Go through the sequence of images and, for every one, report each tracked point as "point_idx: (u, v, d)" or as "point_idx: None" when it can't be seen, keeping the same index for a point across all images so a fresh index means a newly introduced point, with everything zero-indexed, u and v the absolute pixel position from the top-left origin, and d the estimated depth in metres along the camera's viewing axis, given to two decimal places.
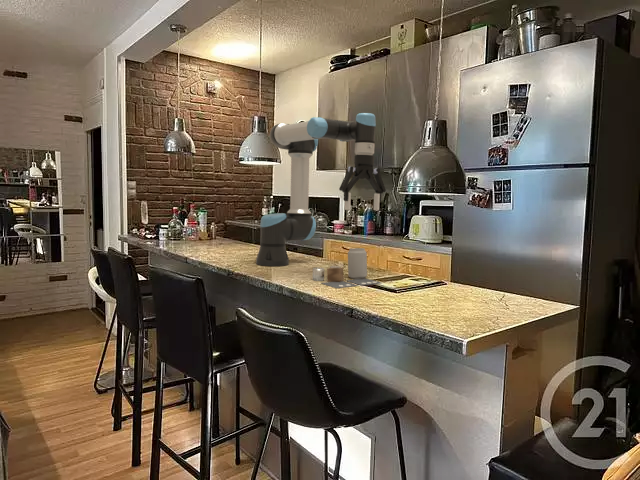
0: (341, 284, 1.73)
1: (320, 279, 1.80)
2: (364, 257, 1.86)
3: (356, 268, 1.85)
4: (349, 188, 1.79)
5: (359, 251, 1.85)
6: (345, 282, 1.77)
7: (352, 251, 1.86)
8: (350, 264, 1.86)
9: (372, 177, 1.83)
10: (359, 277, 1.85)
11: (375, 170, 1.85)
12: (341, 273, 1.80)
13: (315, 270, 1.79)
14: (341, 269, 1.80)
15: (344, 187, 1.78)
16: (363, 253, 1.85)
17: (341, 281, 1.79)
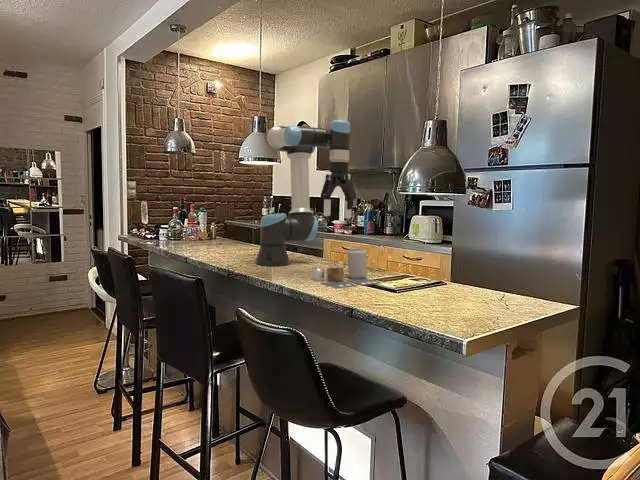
0: (341, 284, 1.73)
1: (320, 279, 1.80)
2: (364, 257, 1.86)
3: (356, 268, 1.85)
4: (324, 195, 1.88)
5: (359, 251, 1.85)
6: (345, 282, 1.77)
7: (352, 251, 1.86)
8: (350, 264, 1.86)
9: (339, 184, 1.79)
10: (359, 277, 1.85)
11: None
12: (341, 273, 1.80)
13: (315, 270, 1.79)
14: (341, 269, 1.80)
15: (321, 194, 1.90)
16: (363, 253, 1.85)
17: (341, 281, 1.79)
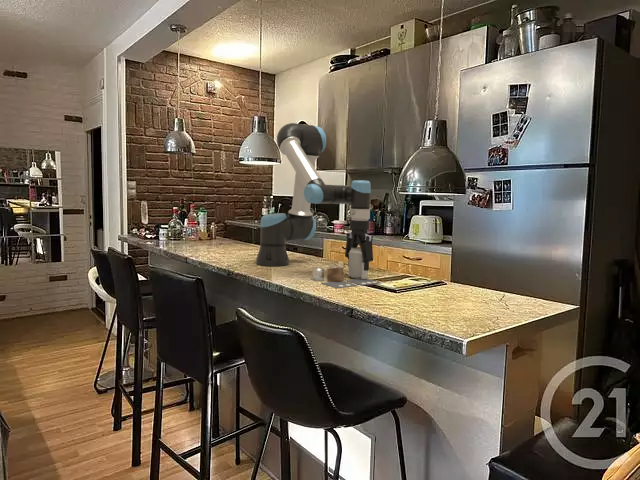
0: (341, 284, 1.73)
1: (320, 279, 1.80)
2: None
3: (357, 268, 1.85)
4: None
5: None
6: (345, 282, 1.77)
7: (354, 251, 1.85)
8: (351, 264, 1.86)
9: (359, 243, 1.84)
10: (360, 277, 1.85)
11: None
12: (341, 273, 1.80)
13: (315, 270, 1.79)
14: (341, 269, 1.80)
15: (345, 254, 1.93)
16: None
17: (341, 281, 1.79)
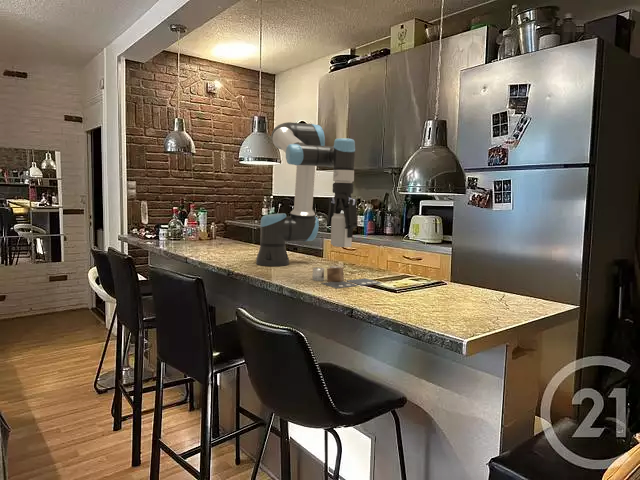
0: (341, 284, 1.73)
1: (320, 279, 1.80)
2: None
3: (340, 235, 1.68)
4: None
5: None
6: (345, 282, 1.77)
7: (336, 216, 1.69)
8: (333, 230, 1.70)
9: (342, 207, 1.68)
10: (343, 245, 1.69)
11: (350, 200, 1.66)
12: (341, 273, 1.80)
13: (315, 270, 1.79)
14: (341, 269, 1.80)
15: (328, 221, 1.76)
16: None
17: (341, 281, 1.79)
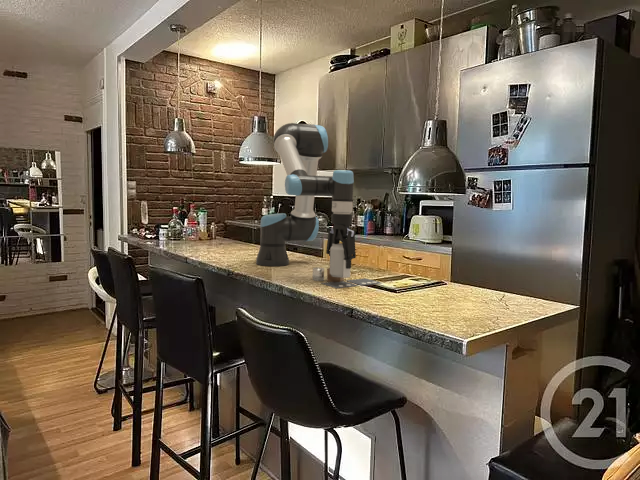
0: (341, 284, 1.73)
1: (320, 279, 1.80)
2: None
3: (339, 266, 1.69)
4: None
5: (342, 247, 1.69)
6: (345, 282, 1.77)
7: (335, 247, 1.70)
8: (332, 261, 1.71)
9: (341, 238, 1.69)
10: (341, 275, 1.70)
11: None
12: None
13: (315, 270, 1.79)
14: None
15: (327, 250, 1.77)
16: None
17: (341, 281, 1.79)
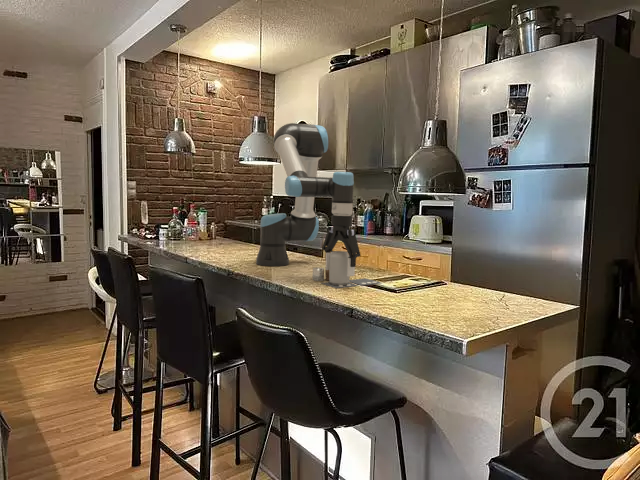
0: None
1: (320, 279, 1.80)
2: (347, 262, 1.71)
3: (338, 274, 1.70)
4: (326, 248, 1.78)
5: (341, 255, 1.70)
6: None
7: (334, 255, 1.71)
8: (331, 269, 1.71)
9: (342, 239, 1.69)
10: (341, 283, 1.70)
11: None
12: None
13: (315, 270, 1.79)
14: None
15: (323, 246, 1.79)
16: (346, 257, 1.70)
17: None
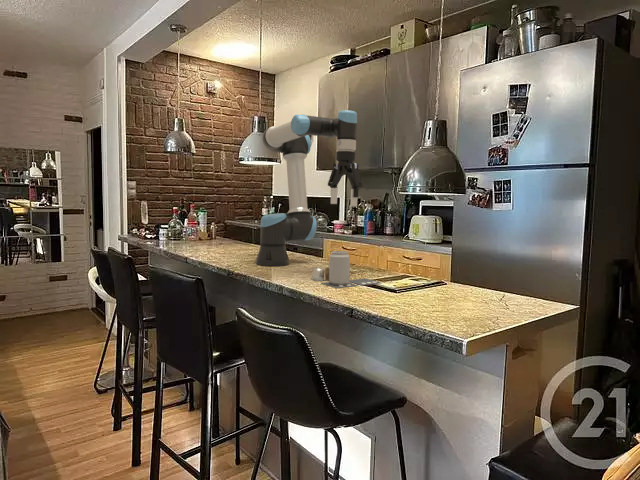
0: None
1: (320, 279, 1.80)
2: (347, 262, 1.71)
3: (338, 274, 1.70)
4: (331, 183, 1.93)
5: (341, 255, 1.70)
6: None
7: (334, 255, 1.71)
8: (331, 269, 1.71)
9: (346, 172, 1.84)
10: (341, 283, 1.70)
11: None
12: None
13: (315, 270, 1.79)
14: None
15: (328, 183, 1.95)
16: (346, 257, 1.70)
17: None
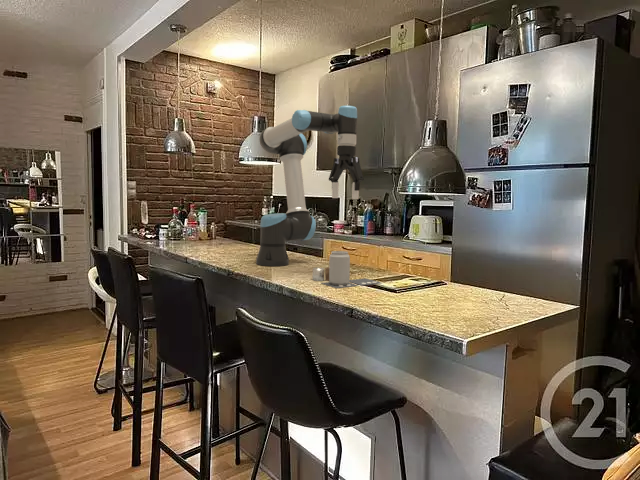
0: None
1: (320, 279, 1.80)
2: (347, 262, 1.71)
3: (338, 274, 1.70)
4: (333, 178, 1.97)
5: (341, 255, 1.70)
6: None
7: (334, 255, 1.71)
8: (331, 269, 1.71)
9: (347, 166, 1.88)
10: (341, 283, 1.70)
11: None
12: None
13: (315, 270, 1.79)
14: None
15: (329, 177, 1.98)
16: (346, 257, 1.70)
17: None
